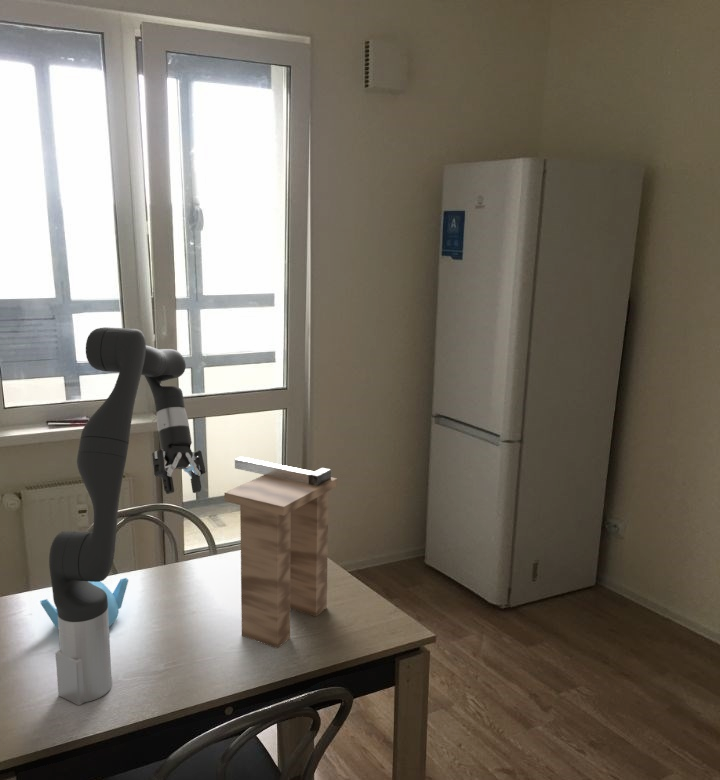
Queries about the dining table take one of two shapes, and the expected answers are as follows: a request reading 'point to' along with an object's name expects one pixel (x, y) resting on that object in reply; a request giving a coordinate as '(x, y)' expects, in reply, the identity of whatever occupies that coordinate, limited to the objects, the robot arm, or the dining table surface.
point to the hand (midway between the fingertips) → (183, 492)
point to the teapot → (113, 599)
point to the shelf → (281, 553)
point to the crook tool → (283, 471)
